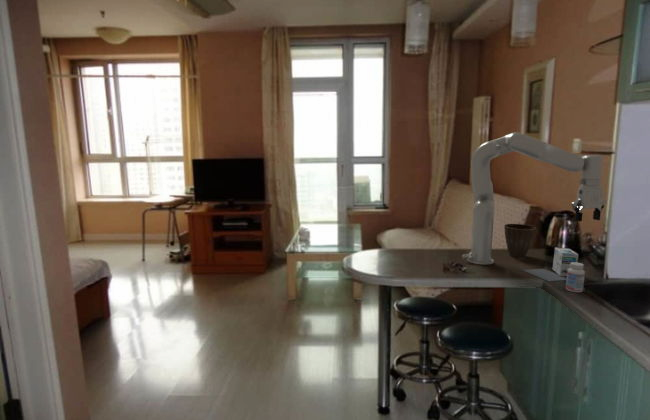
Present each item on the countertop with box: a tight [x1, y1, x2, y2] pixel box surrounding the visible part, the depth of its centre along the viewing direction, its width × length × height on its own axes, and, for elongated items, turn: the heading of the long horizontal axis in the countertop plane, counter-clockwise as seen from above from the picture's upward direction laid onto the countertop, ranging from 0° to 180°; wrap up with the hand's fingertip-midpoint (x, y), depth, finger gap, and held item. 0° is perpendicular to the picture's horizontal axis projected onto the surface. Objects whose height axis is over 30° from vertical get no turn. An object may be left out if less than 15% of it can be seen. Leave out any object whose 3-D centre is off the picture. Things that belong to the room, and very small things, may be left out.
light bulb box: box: [552, 247, 579, 277], centre depth 187 cm, size 11×7×11 cm, turn 168°
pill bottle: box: [565, 262, 586, 293], centre depth 166 cm, size 6×6×11 cm
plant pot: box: [503, 223, 537, 259], centre depth 216 cm, size 15×15×16 cm
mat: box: [522, 268, 567, 283], centre depth 186 cm, size 11×16×1 cm
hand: (587, 220), depth 187 cm, fingers open, 9 cm apart
